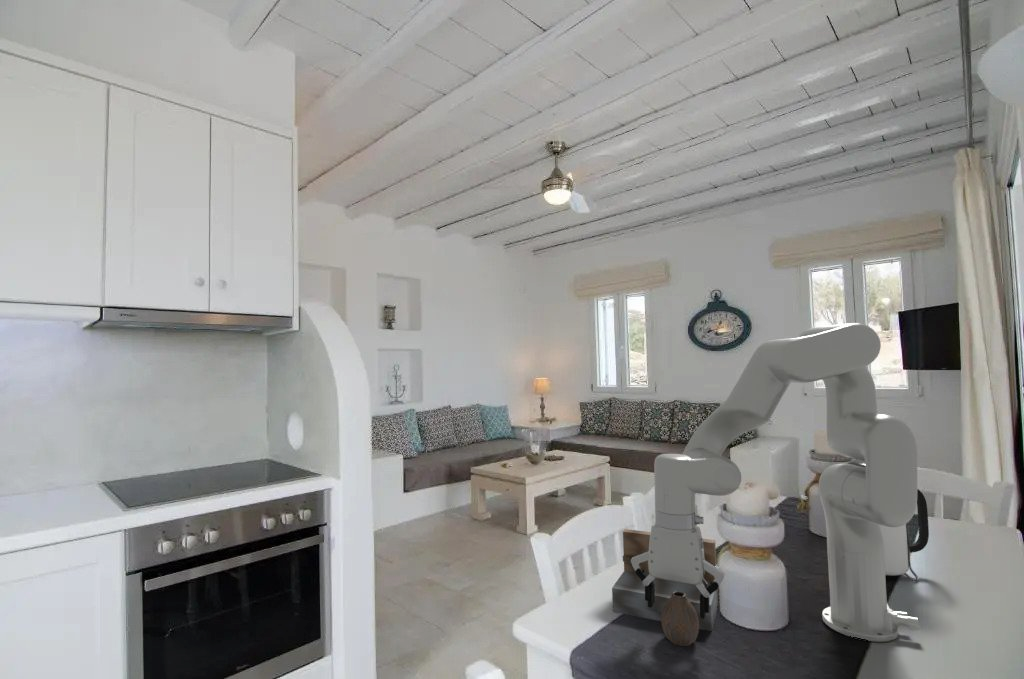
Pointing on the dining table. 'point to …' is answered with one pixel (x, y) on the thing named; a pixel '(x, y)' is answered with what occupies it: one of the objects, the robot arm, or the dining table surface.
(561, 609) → the dining table surface
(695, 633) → the vase
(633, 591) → the wall shelf
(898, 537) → the coffee press
